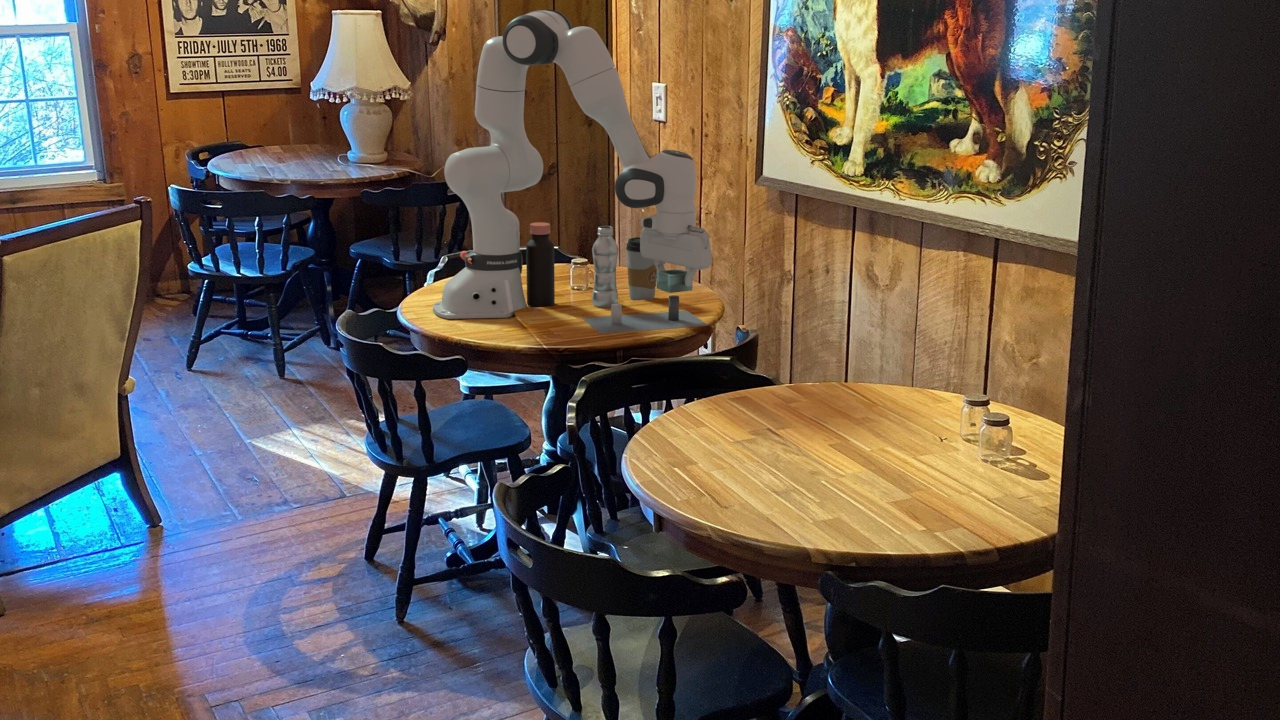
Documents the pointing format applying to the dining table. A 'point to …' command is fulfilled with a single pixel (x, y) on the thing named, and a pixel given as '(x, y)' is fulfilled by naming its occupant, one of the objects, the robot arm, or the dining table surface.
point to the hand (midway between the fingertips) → (674, 282)
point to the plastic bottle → (605, 268)
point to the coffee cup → (640, 272)
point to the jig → (644, 320)
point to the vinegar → (540, 266)
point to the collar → (672, 281)
